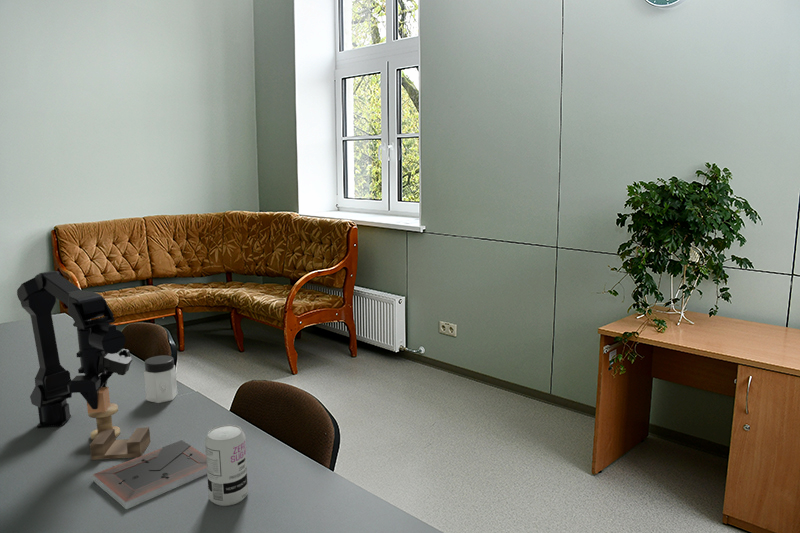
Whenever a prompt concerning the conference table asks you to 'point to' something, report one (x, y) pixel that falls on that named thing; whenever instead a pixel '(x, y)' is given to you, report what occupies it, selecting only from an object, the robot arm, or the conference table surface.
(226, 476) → the supplement can
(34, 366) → the conference table surface
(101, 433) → the notch board
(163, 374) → the jar
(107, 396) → the light brown wooden block
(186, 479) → the picture frame
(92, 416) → the spool
